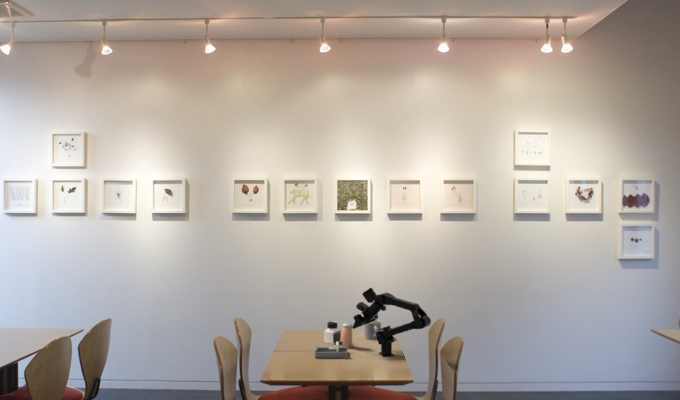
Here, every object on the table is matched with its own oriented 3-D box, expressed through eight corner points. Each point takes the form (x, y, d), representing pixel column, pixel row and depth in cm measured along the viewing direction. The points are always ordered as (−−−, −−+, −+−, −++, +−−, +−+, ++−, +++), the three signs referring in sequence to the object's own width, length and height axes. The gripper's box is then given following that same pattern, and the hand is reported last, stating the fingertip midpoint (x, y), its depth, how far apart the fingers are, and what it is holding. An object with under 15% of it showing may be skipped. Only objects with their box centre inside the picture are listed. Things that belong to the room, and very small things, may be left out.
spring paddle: (338, 351, 259) (338, 341, 259) (338, 355, 252) (338, 345, 252) (328, 351, 259) (328, 341, 259) (328, 355, 252) (328, 345, 252)
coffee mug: (364, 335, 295) (364, 319, 295) (380, 335, 295) (379, 319, 295) (365, 341, 282) (365, 324, 282) (382, 341, 282) (382, 324, 282)
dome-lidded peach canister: (353, 347, 269) (353, 324, 270) (344, 348, 267) (344, 325, 268) (350, 344, 275) (350, 322, 275) (340, 345, 273) (340, 323, 273)
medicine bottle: (333, 344, 276) (333, 324, 276) (324, 342, 280) (324, 322, 280) (340, 341, 281) (340, 321, 282) (331, 339, 286) (331, 320, 286)
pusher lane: (347, 352, 260) (347, 345, 261) (348, 357, 251) (348, 350, 251) (315, 352, 260) (315, 345, 260) (315, 358, 250) (315, 350, 250)
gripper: (373, 295, 272) (357, 312, 278) (356, 300, 257) (339, 318, 263) (385, 310, 268) (368, 327, 274) (368, 317, 252) (351, 334, 258)
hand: (357, 326), depth 267 cm, fingers open, 9 cm apart
